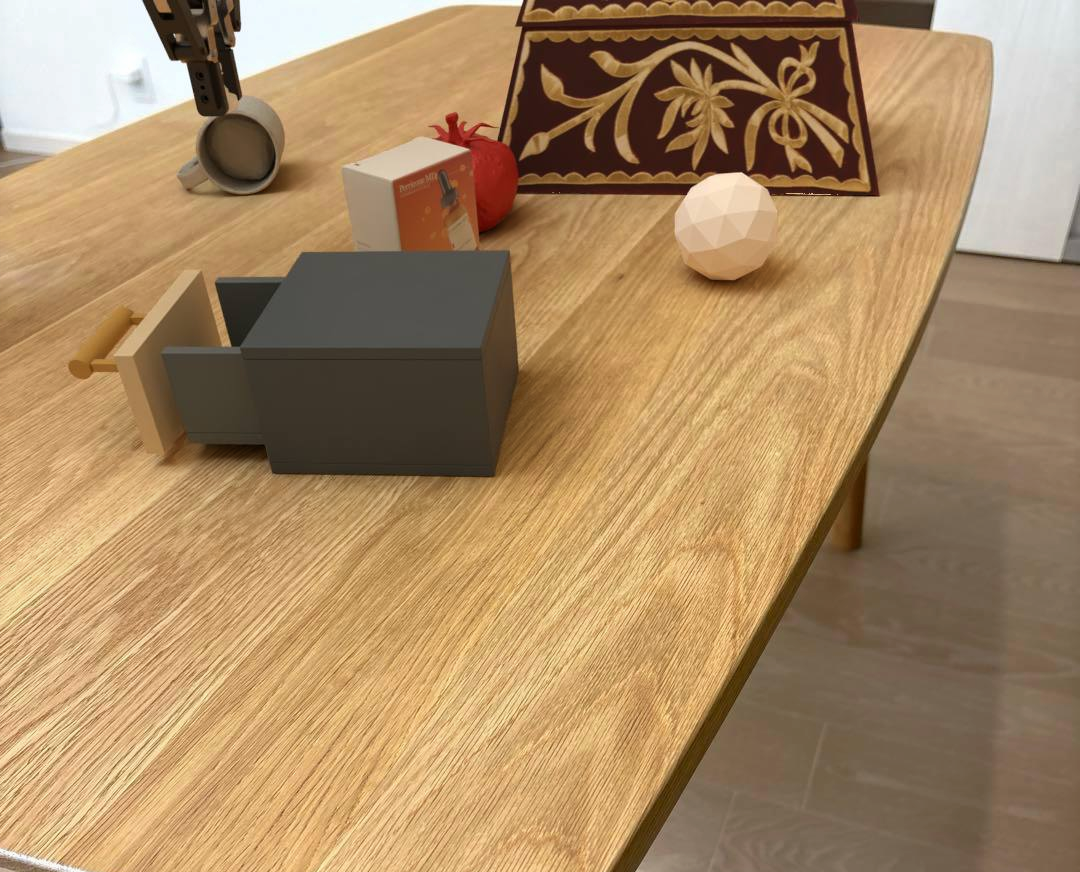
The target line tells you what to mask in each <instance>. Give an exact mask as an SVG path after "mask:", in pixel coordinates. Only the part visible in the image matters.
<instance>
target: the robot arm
mask: <svg viewBox="0 0 1080 872" xmlns="http://www.w3.org/2000/svg"><path fill="white" fill-rule="evenodd" d="M141 2H142V3H143V6H144V9H145V10H146V12H147V15H148V16H149V18H150V21H151V22H152V25H153V27H154V29H155V31H156V33H157V36H158V38H159V40H160V42H161V44H162V46H163V48H164V50H165V53H166V55H167V57H168V59H169V61H171V62H179V61H180V63H181V64H186V68H187V72H188V77H189V81H190V85H191V86H190V87H191V90H192V94H193V99H194V103H195V107H196V111H197V113H198V114H199V115H200V116H202V117H204V118H208V117H219V116H224V115H225V114H226V113H227V112H228V110H229V105H228V101H227V96H226V91H225V87H226V88H228V92H230V93H233V94H235V95H236V96H237V100H238V101H239V100H240V99H241V98H242V96H243V91H242V87H241V81H240V78H239V73H238V67H237V63H236V58H235V53H234V49H233V48H235V47H236V41H237V40H236V35H235V33H240V32H241V30H242V17H241V0H141ZM217 60H218V61H217ZM219 62H220V63H219ZM220 64H221V66H222V70H221V68H220ZM221 72H223V74H222V73H221ZM224 85H225V87H224Z"/></svg>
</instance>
